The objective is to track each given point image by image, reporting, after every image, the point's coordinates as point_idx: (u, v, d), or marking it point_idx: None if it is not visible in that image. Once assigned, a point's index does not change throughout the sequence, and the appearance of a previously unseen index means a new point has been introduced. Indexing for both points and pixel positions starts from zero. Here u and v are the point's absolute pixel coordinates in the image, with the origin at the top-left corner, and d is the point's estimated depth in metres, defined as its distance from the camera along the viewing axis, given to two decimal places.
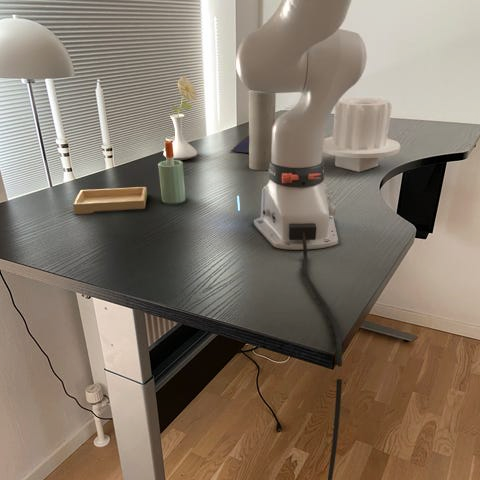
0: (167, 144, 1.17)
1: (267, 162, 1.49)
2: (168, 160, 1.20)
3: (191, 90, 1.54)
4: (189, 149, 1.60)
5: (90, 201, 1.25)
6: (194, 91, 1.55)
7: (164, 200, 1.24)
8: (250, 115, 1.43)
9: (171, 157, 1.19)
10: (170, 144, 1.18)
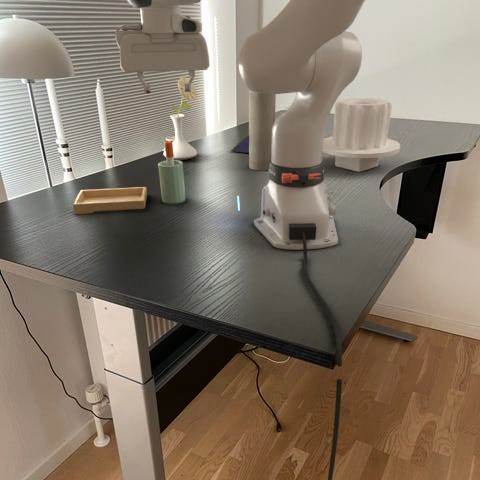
0: (167, 144, 1.17)
1: (267, 161, 1.49)
2: (168, 160, 1.20)
3: (191, 90, 1.54)
4: (189, 149, 1.60)
5: (90, 201, 1.25)
6: (194, 91, 1.55)
7: (164, 200, 1.24)
8: (250, 115, 1.43)
9: (171, 157, 1.19)
10: (170, 144, 1.18)
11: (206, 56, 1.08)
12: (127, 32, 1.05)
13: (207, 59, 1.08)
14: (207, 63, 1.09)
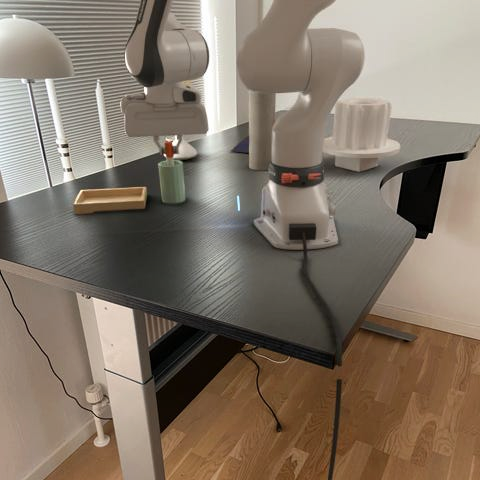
0: (167, 144, 1.17)
1: (267, 161, 1.49)
2: (168, 160, 1.20)
3: None
4: (189, 149, 1.60)
5: (90, 201, 1.25)
6: None
7: (164, 200, 1.24)
8: (250, 115, 1.43)
9: (171, 157, 1.19)
10: (170, 144, 1.18)
11: (205, 122, 1.15)
12: (131, 101, 1.12)
13: (206, 124, 1.15)
14: (206, 128, 1.16)
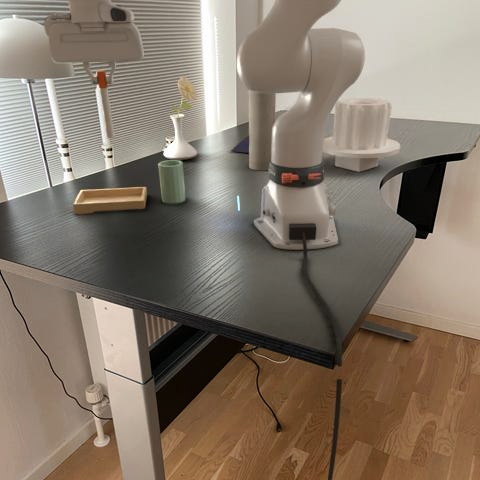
0: (99, 72, 1.07)
1: (267, 161, 1.49)
2: (101, 91, 1.10)
3: (191, 90, 1.54)
4: (189, 149, 1.60)
5: (90, 201, 1.25)
6: (194, 91, 1.55)
7: (164, 200, 1.24)
8: (250, 115, 1.43)
9: (104, 88, 1.09)
10: (102, 72, 1.08)
11: (139, 47, 1.05)
12: (56, 21, 1.02)
13: (140, 49, 1.05)
14: (141, 54, 1.06)
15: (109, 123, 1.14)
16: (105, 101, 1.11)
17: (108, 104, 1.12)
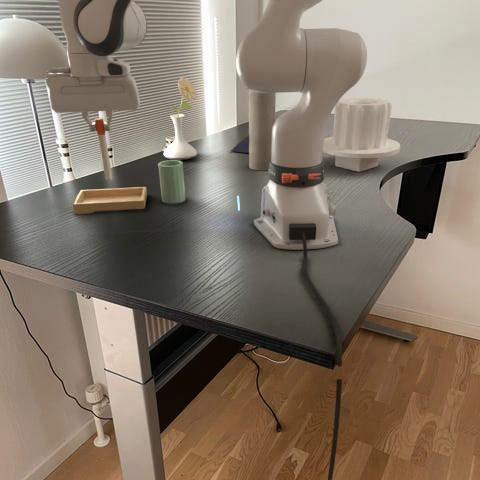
0: (97, 121, 1.13)
1: (267, 161, 1.49)
2: (99, 138, 1.15)
3: (191, 90, 1.54)
4: (189, 149, 1.60)
5: (90, 201, 1.25)
6: (194, 91, 1.55)
7: (164, 200, 1.24)
8: (250, 115, 1.43)
9: (102, 134, 1.15)
10: (100, 121, 1.13)
11: (135, 97, 1.10)
12: (56, 75, 1.07)
13: (136, 100, 1.11)
14: (136, 103, 1.11)
15: (107, 167, 1.19)
16: (103, 146, 1.17)
17: (106, 149, 1.17)
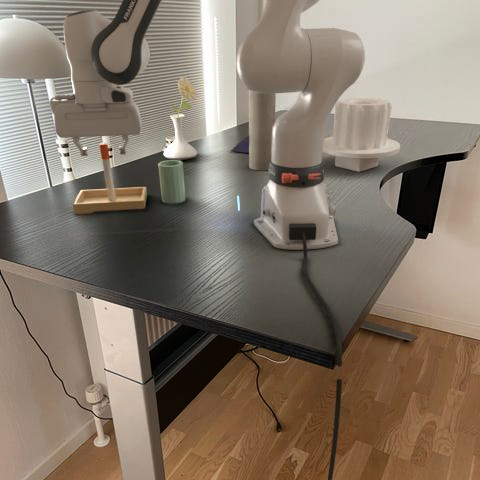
0: (101, 146, 1.16)
1: (267, 161, 1.49)
2: (104, 162, 1.19)
3: (191, 90, 1.54)
4: (189, 149, 1.60)
5: (90, 201, 1.25)
6: (194, 91, 1.55)
7: (164, 200, 1.24)
8: (250, 115, 1.43)
9: (106, 159, 1.18)
10: (104, 146, 1.16)
11: (137, 123, 1.13)
12: (61, 102, 1.10)
13: (139, 125, 1.13)
14: (139, 129, 1.14)
15: (111, 189, 1.22)
16: (107, 170, 1.20)
17: (110, 173, 1.20)
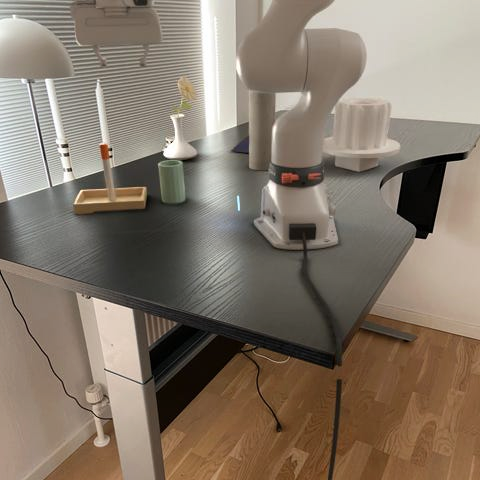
0: (101, 146, 1.16)
1: (267, 161, 1.49)
2: (104, 162, 1.19)
3: (191, 90, 1.54)
4: (189, 149, 1.60)
5: (90, 201, 1.25)
6: (194, 91, 1.55)
7: (164, 200, 1.24)
8: (250, 115, 1.43)
9: (106, 159, 1.18)
10: (104, 146, 1.16)
11: (159, 30, 1.12)
12: (81, 6, 1.09)
13: (160, 33, 1.12)
14: (160, 37, 1.12)
15: (111, 189, 1.22)
16: (107, 170, 1.20)
17: (110, 173, 1.20)
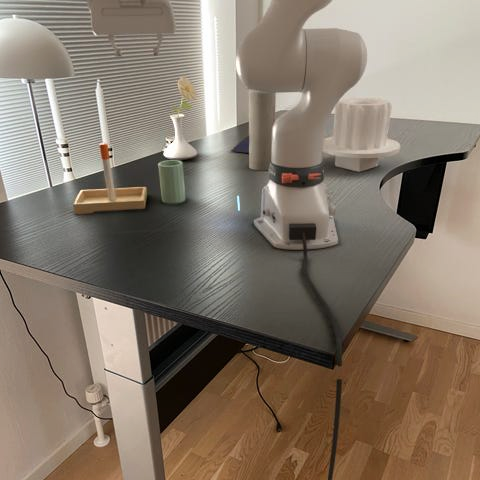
0: (101, 146, 1.16)
1: (267, 161, 1.49)
2: (104, 162, 1.19)
3: (191, 90, 1.54)
4: (189, 149, 1.60)
5: (90, 201, 1.25)
6: (194, 91, 1.55)
7: (164, 200, 1.24)
8: (250, 115, 1.43)
9: (106, 159, 1.18)
10: (104, 146, 1.16)
11: (172, 20, 1.15)
12: None
13: (173, 23, 1.15)
14: (173, 27, 1.16)
15: (111, 189, 1.22)
16: (107, 170, 1.20)
17: (110, 173, 1.20)
